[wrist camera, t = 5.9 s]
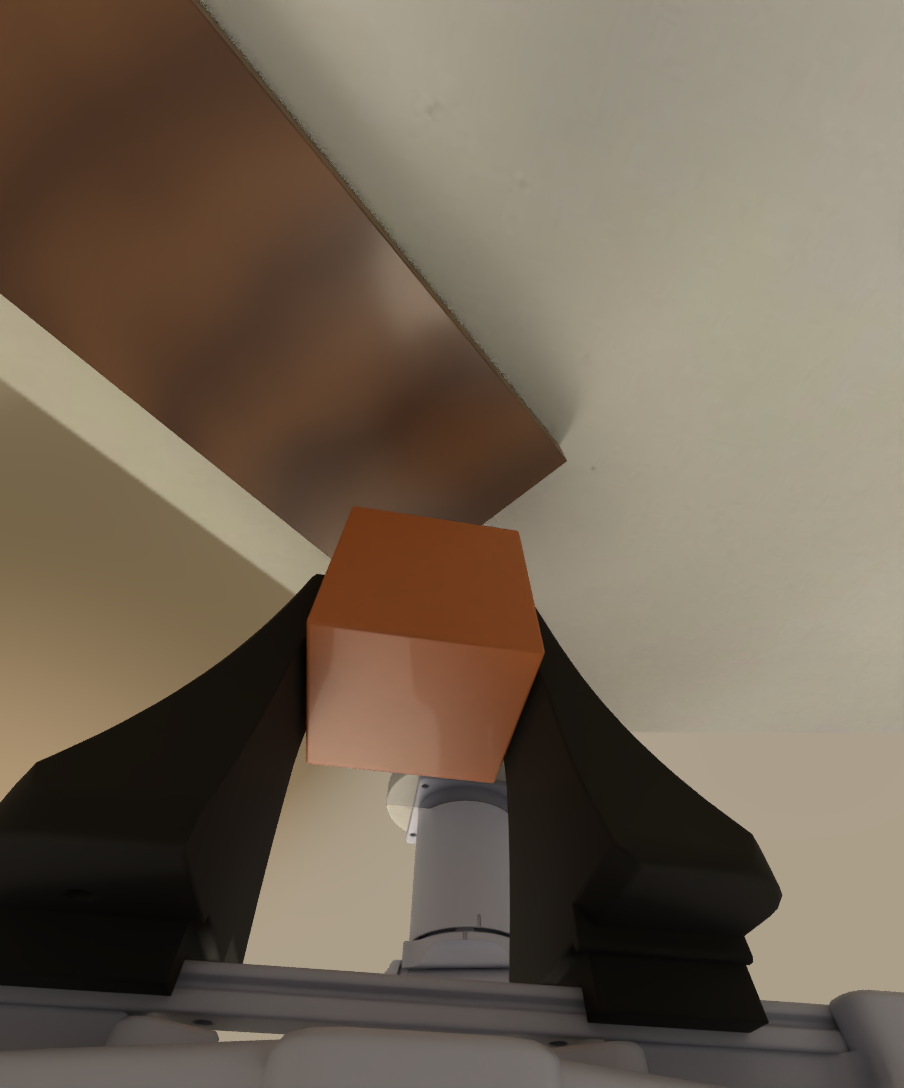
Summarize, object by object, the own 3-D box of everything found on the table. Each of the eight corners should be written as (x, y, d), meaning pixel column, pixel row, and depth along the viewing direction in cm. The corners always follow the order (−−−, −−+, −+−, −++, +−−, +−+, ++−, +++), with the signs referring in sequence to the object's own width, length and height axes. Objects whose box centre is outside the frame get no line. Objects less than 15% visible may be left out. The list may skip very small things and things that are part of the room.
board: (560, 446, 19) (567, 461, 17) (386, 579, 22) (382, 600, 21) (56, -175, 11) (3, -231, 9) (-85, 189, 14) (-137, 184, 13)
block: (485, 648, 15) (494, 785, 11) (344, 630, 15) (305, 765, 11) (519, 530, 13) (546, 652, 9) (352, 504, 12) (305, 620, 8)
